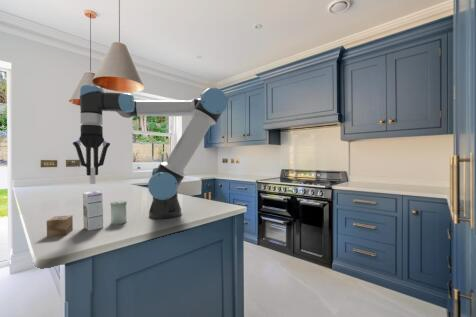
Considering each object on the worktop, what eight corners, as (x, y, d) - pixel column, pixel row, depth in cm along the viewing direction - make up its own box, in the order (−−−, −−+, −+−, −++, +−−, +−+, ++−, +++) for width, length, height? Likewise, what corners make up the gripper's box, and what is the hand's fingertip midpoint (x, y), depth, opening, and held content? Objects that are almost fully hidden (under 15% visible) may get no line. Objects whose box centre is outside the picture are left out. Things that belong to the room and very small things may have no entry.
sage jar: (129, 220, 105) (129, 200, 104) (122, 224, 98) (121, 203, 98) (116, 220, 105) (115, 200, 105) (107, 224, 98) (107, 203, 98)
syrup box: (103, 227, 94) (103, 192, 94) (87, 231, 90) (86, 193, 89) (99, 224, 98) (98, 190, 98) (82, 228, 93) (82, 192, 93)
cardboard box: (72, 230, 91) (72, 215, 91) (66, 235, 85) (66, 219, 85) (54, 232, 89) (54, 216, 89) (46, 237, 83) (46, 220, 83)
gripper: (107, 127, 100) (108, 181, 101) (70, 124, 92) (71, 184, 92) (112, 125, 95) (112, 183, 95) (73, 122, 86) (74, 185, 86)
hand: (92, 183), depth 94 cm, fingers closed
